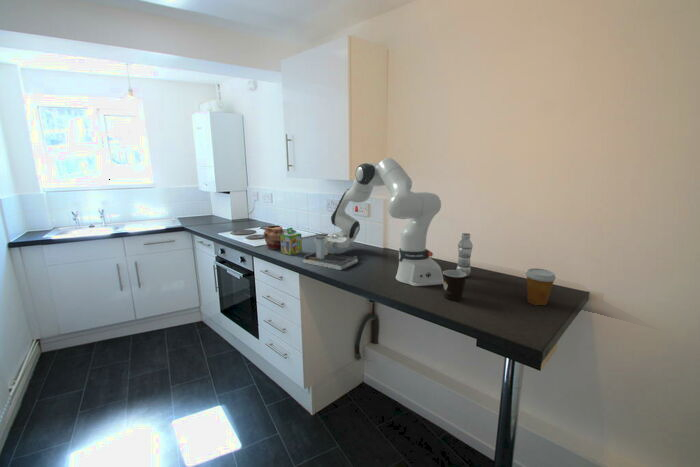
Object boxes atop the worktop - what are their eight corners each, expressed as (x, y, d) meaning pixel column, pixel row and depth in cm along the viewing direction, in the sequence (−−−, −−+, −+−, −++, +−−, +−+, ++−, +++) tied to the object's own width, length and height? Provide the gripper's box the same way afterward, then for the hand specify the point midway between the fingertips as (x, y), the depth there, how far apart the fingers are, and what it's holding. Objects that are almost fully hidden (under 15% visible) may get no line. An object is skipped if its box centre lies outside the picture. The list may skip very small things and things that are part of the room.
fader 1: (324, 258, 168) (324, 236, 166) (321, 260, 165) (320, 237, 163) (319, 257, 170) (319, 236, 167) (315, 259, 167) (315, 237, 165)
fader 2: (328, 254, 175) (327, 233, 173) (324, 256, 173) (324, 234, 170) (323, 253, 177) (322, 233, 175) (319, 255, 174) (319, 234, 172)
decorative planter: (258, 246, 203) (256, 225, 200) (274, 243, 211) (273, 222, 208) (273, 252, 189) (272, 229, 186) (291, 248, 197) (290, 226, 194)
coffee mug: (466, 303, 118) (468, 277, 116) (442, 301, 120) (443, 276, 118) (461, 291, 129) (463, 268, 127) (439, 290, 131) (441, 266, 129)
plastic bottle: (469, 274, 150) (473, 233, 146) (470, 278, 144) (474, 236, 140) (455, 272, 152) (458, 232, 148) (456, 277, 146) (459, 235, 142)
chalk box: (291, 255, 182) (290, 230, 179) (280, 253, 187) (279, 228, 184) (302, 252, 189) (301, 227, 186) (291, 250, 194) (290, 226, 191)
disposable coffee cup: (554, 302, 119) (558, 271, 117) (548, 310, 112) (553, 278, 110) (526, 295, 126) (529, 266, 123) (519, 302, 119) (523, 272, 116)
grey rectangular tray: (357, 262, 169) (357, 255, 168) (340, 270, 156) (340, 263, 155) (321, 255, 182) (321, 249, 181) (303, 262, 168) (303, 256, 168)
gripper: (322, 233, 189) (307, 237, 178) (351, 237, 179) (337, 241, 167) (322, 243, 191) (308, 248, 179) (351, 247, 180) (338, 253, 168)
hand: (322, 245), depth 173 cm, fingers closed on fader 2, 3 cm apart
